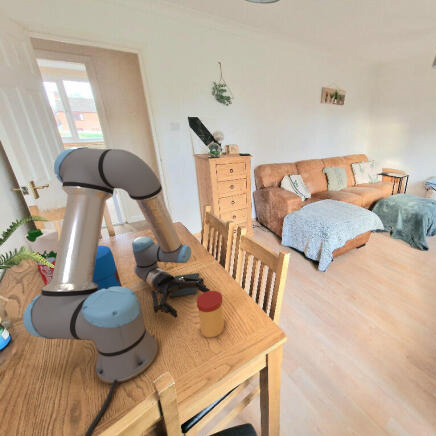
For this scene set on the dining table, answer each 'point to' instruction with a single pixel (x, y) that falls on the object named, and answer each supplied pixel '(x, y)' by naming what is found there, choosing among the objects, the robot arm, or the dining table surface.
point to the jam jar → (212, 322)
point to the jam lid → (209, 301)
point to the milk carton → (43, 242)
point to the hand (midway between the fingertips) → (193, 302)
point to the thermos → (105, 269)
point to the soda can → (47, 270)
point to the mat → (185, 290)
